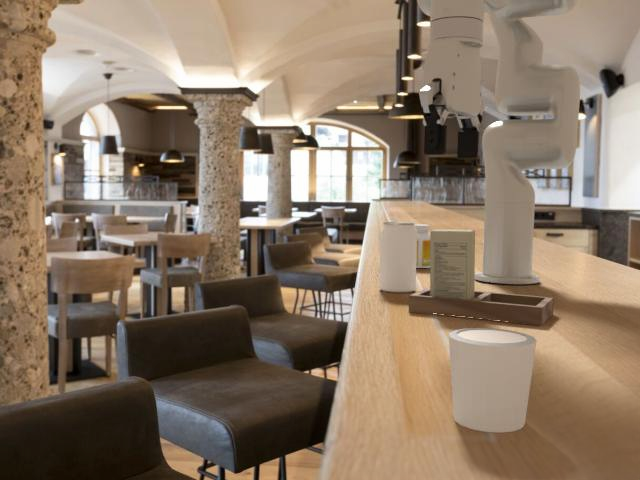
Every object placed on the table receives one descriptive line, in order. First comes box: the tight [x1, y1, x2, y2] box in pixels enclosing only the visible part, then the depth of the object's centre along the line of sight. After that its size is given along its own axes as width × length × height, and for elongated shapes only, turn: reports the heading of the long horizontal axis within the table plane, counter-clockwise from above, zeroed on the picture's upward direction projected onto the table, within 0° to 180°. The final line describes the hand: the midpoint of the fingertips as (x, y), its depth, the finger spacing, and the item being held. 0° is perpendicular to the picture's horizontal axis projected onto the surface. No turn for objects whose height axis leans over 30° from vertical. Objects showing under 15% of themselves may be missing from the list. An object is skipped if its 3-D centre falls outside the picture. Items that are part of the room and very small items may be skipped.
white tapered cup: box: [448, 327, 537, 434], centre depth 57 cm, size 7×7×7 cm
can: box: [378, 221, 417, 294], centre depth 125 cm, size 6×6×12 cm
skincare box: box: [429, 228, 476, 300], centre depth 106 cm, size 6×4×12 cm
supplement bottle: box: [415, 223, 430, 269], centre depth 160 cm, size 5×5×10 cm
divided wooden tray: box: [408, 286, 555, 326], centre depth 105 cm, size 10×19×2 cm, turn 63°
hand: (451, 156), depth 103 cm, fingers open, 9 cm apart
